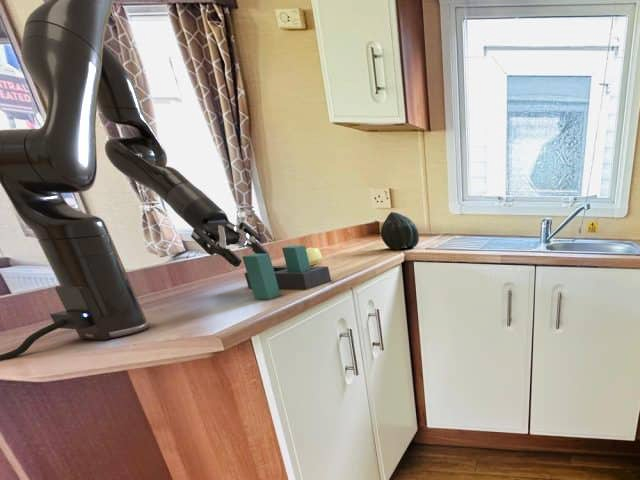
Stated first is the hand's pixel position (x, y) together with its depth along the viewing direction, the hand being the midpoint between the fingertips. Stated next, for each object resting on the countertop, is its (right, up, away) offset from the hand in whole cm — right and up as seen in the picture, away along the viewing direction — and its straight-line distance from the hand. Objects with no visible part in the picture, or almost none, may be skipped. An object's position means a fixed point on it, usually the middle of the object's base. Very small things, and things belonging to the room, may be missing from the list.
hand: (253, 260), depth 99 cm
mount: (0, -2, +17) cm, 17 cm away
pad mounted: (+4, -2, +16) cm, 16 cm away
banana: (-12, +12, +46) cm, 48 cm away
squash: (+15, +28, +78) cm, 84 cm away
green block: (+1, -8, +3) cm, 9 cm away
